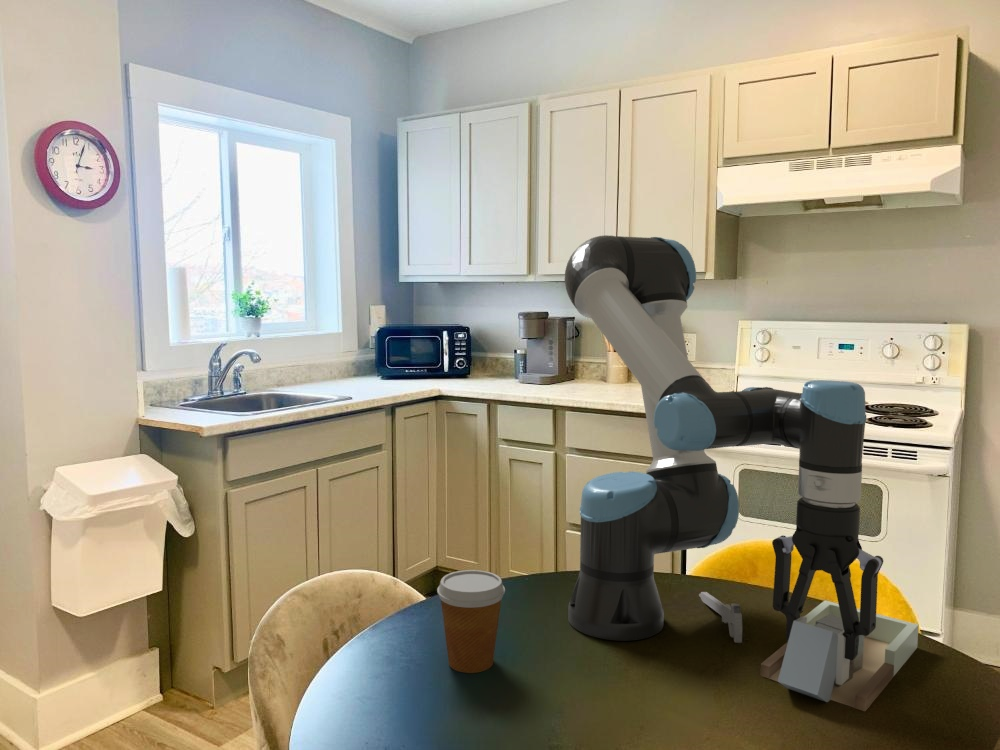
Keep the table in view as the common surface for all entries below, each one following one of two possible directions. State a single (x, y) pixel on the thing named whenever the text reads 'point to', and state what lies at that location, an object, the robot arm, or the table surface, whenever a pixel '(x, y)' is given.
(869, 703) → the slot board
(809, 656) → the grey block
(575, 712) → the table surface
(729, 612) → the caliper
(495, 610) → the disposable coffee cup
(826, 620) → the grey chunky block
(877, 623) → the tray
